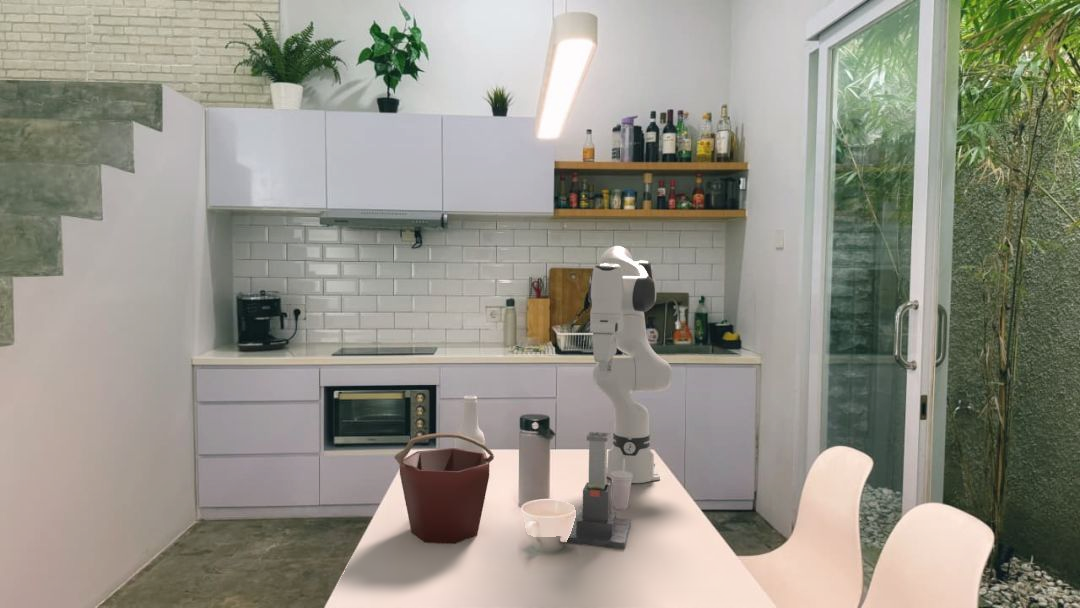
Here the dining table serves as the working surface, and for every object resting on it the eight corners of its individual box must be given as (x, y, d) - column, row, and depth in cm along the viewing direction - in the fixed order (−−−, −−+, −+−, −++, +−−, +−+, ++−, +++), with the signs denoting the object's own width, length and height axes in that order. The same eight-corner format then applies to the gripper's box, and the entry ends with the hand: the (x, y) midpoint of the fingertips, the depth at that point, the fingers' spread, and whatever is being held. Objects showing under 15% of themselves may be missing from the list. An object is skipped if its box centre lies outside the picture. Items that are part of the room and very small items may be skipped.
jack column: (588, 500, 178) (589, 431, 177) (608, 502, 177) (609, 433, 176) (585, 506, 173) (586, 436, 172) (605, 508, 172) (607, 437, 171)
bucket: (386, 546, 165) (386, 443, 164) (408, 513, 187) (408, 423, 186) (487, 549, 164) (488, 446, 163) (497, 516, 186) (498, 425, 185)
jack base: (571, 519, 185) (572, 474, 184) (630, 525, 181) (631, 479, 181) (559, 542, 169) (560, 493, 169) (624, 549, 166) (625, 499, 165)
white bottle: (484, 503, 197) (485, 399, 195) (453, 503, 196) (454, 399, 194) (484, 493, 205) (485, 393, 204) (455, 493, 205) (455, 393, 203)
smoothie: (631, 512, 191) (632, 462, 190) (608, 510, 192) (609, 461, 192) (633, 504, 197) (634, 456, 197) (610, 502, 199) (611, 454, 198)
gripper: (600, 320, 195) (599, 369, 196) (589, 326, 175) (588, 380, 176) (622, 321, 194) (621, 370, 194) (613, 327, 174) (612, 381, 174)
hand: (605, 374), depth 185 cm, fingers open, 8 cm apart
